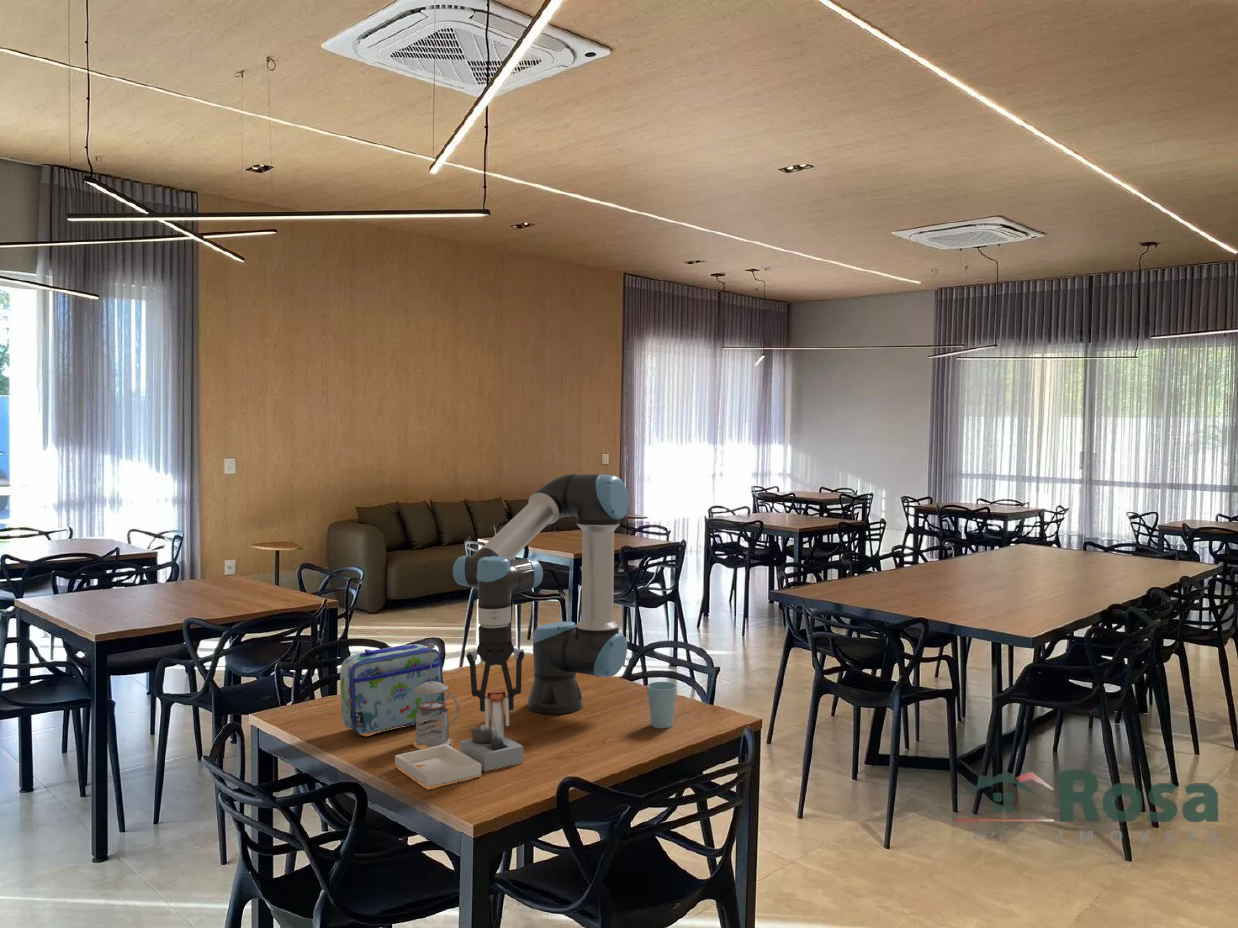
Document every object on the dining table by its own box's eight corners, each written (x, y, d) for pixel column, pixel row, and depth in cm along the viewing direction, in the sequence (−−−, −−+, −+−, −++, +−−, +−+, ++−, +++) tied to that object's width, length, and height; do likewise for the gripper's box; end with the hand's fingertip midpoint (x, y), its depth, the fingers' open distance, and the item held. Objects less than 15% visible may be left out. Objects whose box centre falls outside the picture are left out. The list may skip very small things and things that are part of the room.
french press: (417, 737, 242) (415, 638, 241) (463, 737, 242) (461, 638, 240) (407, 750, 232) (405, 647, 231) (455, 750, 232) (453, 647, 231)
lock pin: (486, 747, 223) (484, 691, 222) (501, 744, 226) (499, 688, 225) (494, 752, 220) (493, 695, 219) (509, 748, 222) (508, 692, 222)
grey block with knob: (460, 757, 226) (459, 726, 226) (497, 749, 232) (497, 718, 232) (484, 772, 217) (484, 740, 216) (523, 762, 223) (522, 731, 222)
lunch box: (352, 742, 238) (350, 658, 237) (337, 731, 247) (335, 650, 246) (448, 722, 254) (446, 643, 253) (430, 712, 262) (429, 636, 261)
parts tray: (395, 768, 220) (395, 755, 220) (446, 756, 228) (446, 743, 227) (427, 790, 206) (427, 776, 206) (481, 777, 214) (481, 763, 214)
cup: (682, 727, 248) (681, 687, 247) (655, 731, 245) (655, 691, 244) (668, 719, 255) (668, 680, 254) (642, 723, 252) (642, 683, 251)
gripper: (456, 629, 216) (459, 731, 218) (532, 626, 218) (534, 727, 220) (458, 622, 224) (461, 721, 225) (531, 619, 226) (533, 717, 227)
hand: (497, 724), depth 222 cm, fingers closed on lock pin, 4 cm apart
